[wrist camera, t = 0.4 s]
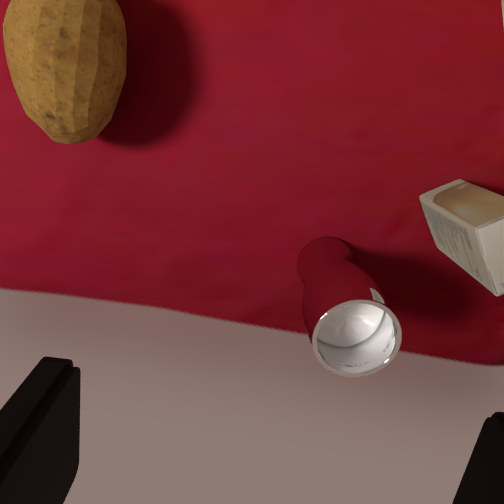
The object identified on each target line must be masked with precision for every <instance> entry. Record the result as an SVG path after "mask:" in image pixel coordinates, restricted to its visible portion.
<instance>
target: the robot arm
mask: <svg viewBox="0 0 504 504" xmlns="http://www.w3.org/2000/svg"><path fill="white" fill-rule="evenodd" d="M79 429H80V368H79V367H73V362H72V360H70V359H62V358H54V357H43V358H42V359H41V360H40V362H39V363H38V364H37V365H36V367H35V368H34V369H33V370H32V371H31V373H30V374H29V375H28V376H27V378H26V379H25V380H24V381H23V383H22V384H21V385H20V386H19V388H18V389H17V390H16V391H15V393H14V394H13V395H12V396H11V398H10V399H9V400H8V401H7V403H6V404H5V405H4V406H3V408H2V409H1V410H0V504H63V502H64V501H65V498H66V496H67V494H68V492H69V489H70V488H71V485H72V483H73V481H74V479H75V476H76V473H77V470H78V465H79V434H80V433H79V432H80V431H79ZM453 504H504V412H495V413H494V414H493V415H492V416H491V417H489V418H487V419H486V420H485V422H484V424H483V426H482V429H481V432H480V434H479V437H478V440H477V442H476V444H475V447H474V450H473V452H472V455H471V457H470V460H469V462H468V465H467V467H466V470H465V473H464V475H463V477H462V480H461V483H460V485H459V488H458V490H457V493H456V495H455V498H454V500H453Z"/></svg>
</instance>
